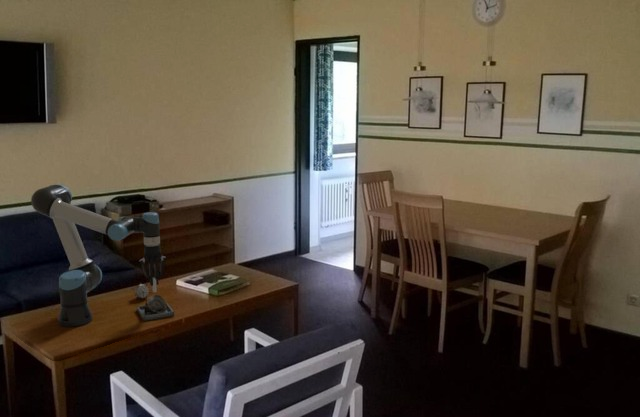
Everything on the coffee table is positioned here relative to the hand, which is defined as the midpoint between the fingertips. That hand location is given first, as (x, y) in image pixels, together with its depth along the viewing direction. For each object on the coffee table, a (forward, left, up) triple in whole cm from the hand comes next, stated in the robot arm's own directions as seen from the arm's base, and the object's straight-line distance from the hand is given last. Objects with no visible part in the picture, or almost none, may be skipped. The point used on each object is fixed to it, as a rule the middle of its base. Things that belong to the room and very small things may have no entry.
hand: (154, 291), depth 296 cm
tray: (0, 0, -11) cm, 11 cm away
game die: (-1, +25, -12) cm, 28 cm away
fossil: (0, 0, -11) cm, 11 cm away
